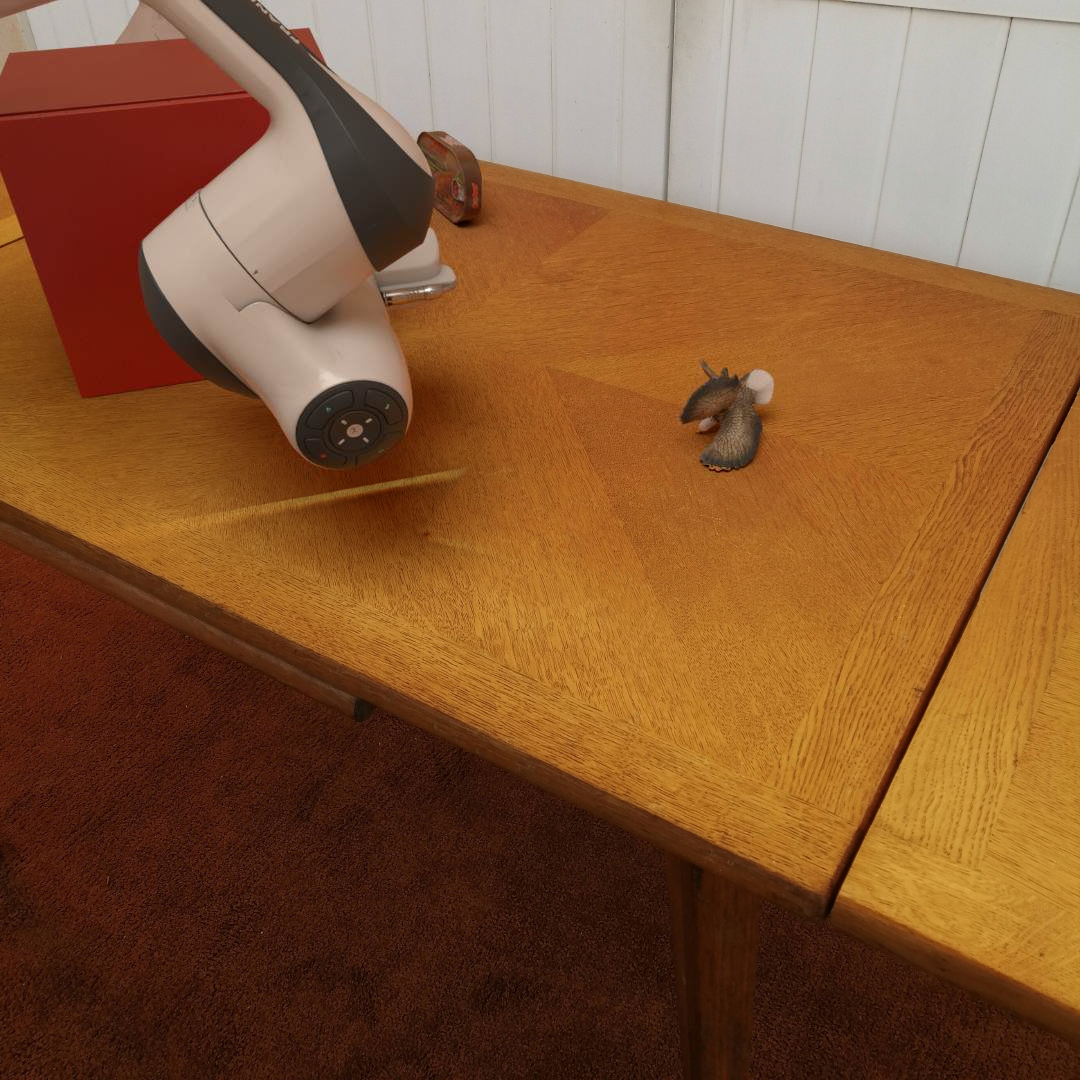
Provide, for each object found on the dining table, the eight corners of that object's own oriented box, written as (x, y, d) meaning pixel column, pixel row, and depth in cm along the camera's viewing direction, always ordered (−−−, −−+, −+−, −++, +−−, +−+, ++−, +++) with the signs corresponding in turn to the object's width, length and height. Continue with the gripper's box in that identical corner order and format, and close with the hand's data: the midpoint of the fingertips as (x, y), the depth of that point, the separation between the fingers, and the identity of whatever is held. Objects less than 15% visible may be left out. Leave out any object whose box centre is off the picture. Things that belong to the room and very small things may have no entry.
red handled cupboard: (382, 382, 92) (347, 108, 76) (78, 430, 86) (-28, 146, 70) (371, 348, 96) (335, 84, 81) (82, 393, 91) (-16, 118, 75)
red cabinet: (371, 348, 97) (335, 81, 81) (83, 393, 91) (-17, 115, 75) (345, 270, 110) (309, 27, 94) (92, 304, 104) (8, 52, 88)
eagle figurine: (671, 393, 88) (655, 432, 80) (724, 332, 84) (713, 367, 76) (738, 446, 88) (728, 490, 81) (793, 388, 85) (789, 428, 77)
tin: (415, 191, 127) (409, 122, 121) (438, 186, 128) (433, 118, 123) (464, 234, 117) (459, 161, 111) (488, 229, 118) (485, 156, 112)
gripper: (460, 250, 72) (422, 182, 82) (164, 290, 67) (162, 212, 77) (465, 329, 76) (428, 255, 86) (186, 372, 71) (182, 288, 82)
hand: (300, 235), depth 82 cm, fingers closed
